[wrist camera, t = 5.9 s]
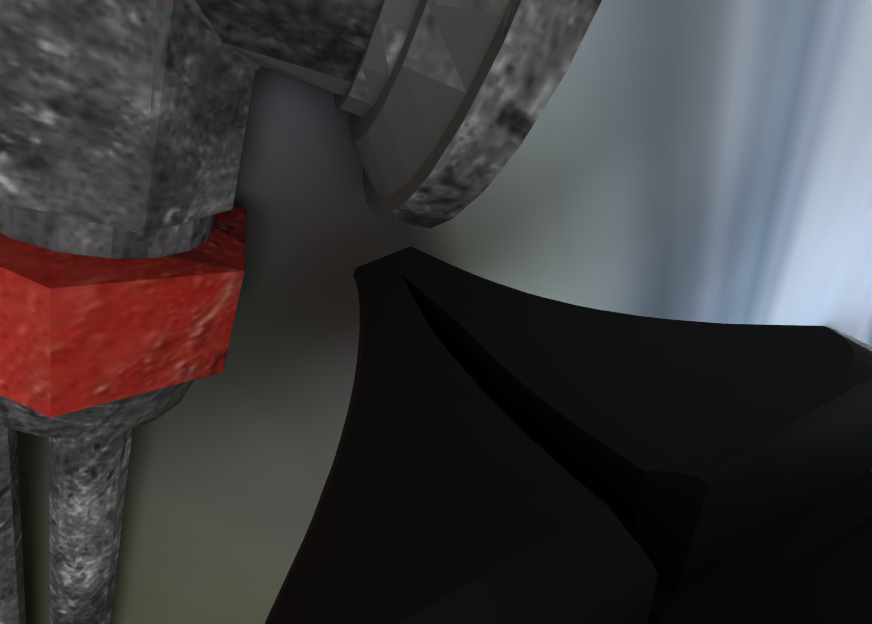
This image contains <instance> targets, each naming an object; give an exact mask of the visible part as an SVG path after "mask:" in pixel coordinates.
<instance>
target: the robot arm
mask: <svg viewBox="0 0 872 624" xmlns="http://www.w3.org/2000/svg"><path fill="white" fill-rule="evenodd" d="M353 276H354V279H355V281H356V284H357V287H358V294H359V305H360V334H359V345H358V356H357V366H356V372H355V379H354V385H353V390H352V395H351V400H350V404H349V409H348V413H347V416H346V420H345V424H344V428H343V431H342V435H341V439H340V442H339V446H338V449H337V452H336V455H335V459H334V462H333V465H332V467H331V470H330V473H329V475H328V478H327V481H326V483H325V486H324V489H323V491H322V494H321V497H320V500H319V502H318V505H317V508H316V510H315V513H314V516H313V518H312V521H311V523H310V526H309V528H308V530H307V533H306V535H305V537H304V540H303V542H302V544H301V546H300V548H299V550H298V553H297V555H296V557H295V559H294V561H293V563H292V566H291V568H290V570H289V572H288V574H287V576H286V579H285V581H284V583H283V585H282V587H281V589H280V592H279V594H278V596H277V598H276V600H275V602H274V605H273V607H272V609H271V611H270V613H269V615H268V617H267V619H266V622H265V624H872V470H871V469H872V351H870V350H869V349H867V348H865V347H863V346H861V345H859V344H857V343H856V342H854V341H852V340H850V339H848V338H846V337H844V336H843V335H841V334H839V333H837V332H835V331H833V330H831V329H830V328H827V327H825V326H796V325H751V324H721V323H707V322H695V321H682V320H670V319H661V318H652V317H643V316H636V315H629V314H623V313H616V312H610V311H603V310H597V309H592V308H587V307H582V306H577V305H572V304H568V303H564V302H560V301H556V300H551V299H547V298H543V297H539V296H536V295H532V294H529V293H525V292H522V291H519V290H516V289H513V288H510V287H507V286H504V285H501V284H498V283H495V282H492V281H490V280H487V279H484V278H481V277H479V276H476V275H474V274H471V273H469V272H467V271H464V270H462V269H459V268H457V267H455V266H452V265H450V264H448V263H446V262H443V261H441V260H439V259H437V258H435V257H433V256H430V255H428V254H426V253H424V252H422V251H420V250H418V249H415V248H413V247H411V246H410V247H408V248H405V249H403V250H400V251H398V252H395V253H393V254H390V255H388V256H385V257H383V258H380V259H378V260H375V261H373V262H370V263H368V264H365V265H363V266H360V267H358V268H356V270H355V272H354V274H353Z"/></svg>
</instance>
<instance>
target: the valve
mask: <svg viewBox="0 0 872 624" xmlns="http://www.w3.org/2000/svg"><path fill="white" fill-rule="evenodd" d="M601 1H602V0H0V624H26V614H25V593H24V572H23V551H22V530H21V509H20V488H19V467H18V446H17V431H21V432H25V433H29V434H32V435H36V436H40V437H49V624H111V617H112V608H113V599H114V590H115V581H116V572H117V563H118V555H119V546H120V537H121V528H122V519H123V510H124V501H125V493H126V484H127V475H128V466H129V457H130V448H131V439H132V430H133V428H136V427H138V426H141V425H143V424H146V423H148V422H151V421H153V420H156V419H158V418H159V417H161V416H162V415H163V414H165V413H166V412H167V411H169V410H170V409H171V408H173V407H174V406H175V405H177V404H178V403H179V402H180V401H181V400H182V398H183V397H184V395H185V393H186V392H187V390H188V389H189V387H190V386H191V384H192V382H193V381H194V380H195V379H198V378H202V377H206V376H210V375H213V374H217V373H221V372H223V369H224V364H225V360H226V355H227V350H228V346H229V341H230V336H231V332H232V327H233V323H234V318H235V313H236V309H237V304H238V299H239V295H240V290H241V286H242V281H243V276H244V272H245V233H246V210H245V209H243V208H241V207H238V206H236V205H234V198H235V192H236V186H237V180H238V174H239V168H240V162H241V156H242V150H243V144H244V138H245V132H246V126H247V120H248V113H249V107H250V101H251V96H252V91H253V86H254V82H255V77H256V72H257V70H259V69H260V68H262V67H264V68H267V69H269V70H272V71H275V72H277V73H280V74H283V75H286V76H288V77H291V78H294V79H297V80H299V81H302V82H305V83H308V84H310V85H313V86H316V87H319V88H321V89H324V90H327V91H329V92H332V93H335V103H336V107H337V108H339V109H342V110H345V111H347V112H350V120H349V124H350V132H351V138H352V140H353V143H354V145H355V148H356V150H357V152H358V155H359V157H360V160H361V162H362V164H363V185H364V190H365V196H366V202H367V204H368V205H369V207H370V208H371V210H372V212H373V213H374V214H376V215H380V216H383V217H387V218H390V219H394V220H397V221H401V222H404V223H407V224H411V225H415V226H420V227H425V228H432V227H434V226H436V225H439V224H441V223H443V222H446V221H448V220H450V219H453V218H454V217H455V216H456V215H457V214H458V213H459V212H461V211H462V210H463V209H464V208H465V207H466V206H467V205H469V204H470V203H471V202H472V201H473V200H474V199H475V198H477V197H478V196H479V195H480V194H481V193H482V192H483V191H484V190H485V189H486V187H487V186H488V185H489V184H490V182H491V181H492V180H493V179H494V177H495V176H496V175H497V174H498V172H499V171H500V170H501V169H502V167H503V166H504V165H505V164H506V162H507V161H508V160H509V159H510V158H511V156H512V155H513V154H514V153H515V151H516V150H517V149H518V148H519V146H520V145H521V143H522V142H523V140H524V139H525V137H526V135H527V134H528V132H529V131H530V129H531V127H532V126H533V124H534V123H535V121H536V119H537V118H538V116H539V115H540V113H541V111H542V110H543V108H544V107H545V105H546V103H547V102H548V100H549V99H550V97H551V95H552V94H553V92H554V91H555V89H556V87H557V86H558V84H559V83H560V81H561V79H562V78H563V76H564V75H565V73H566V71H567V69H568V67H569V65H570V63H571V61H572V59H573V57H574V55H575V53H576V51H577V49H578V47H579V45H580V43H581V41H582V39H583V37H584V35H585V33H586V31H587V29H588V27H589V25H590V23H591V21H592V19H593V17H594V15H595V13H596V11H597V9H598V7H599V5H600V3H601Z"/></svg>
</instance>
